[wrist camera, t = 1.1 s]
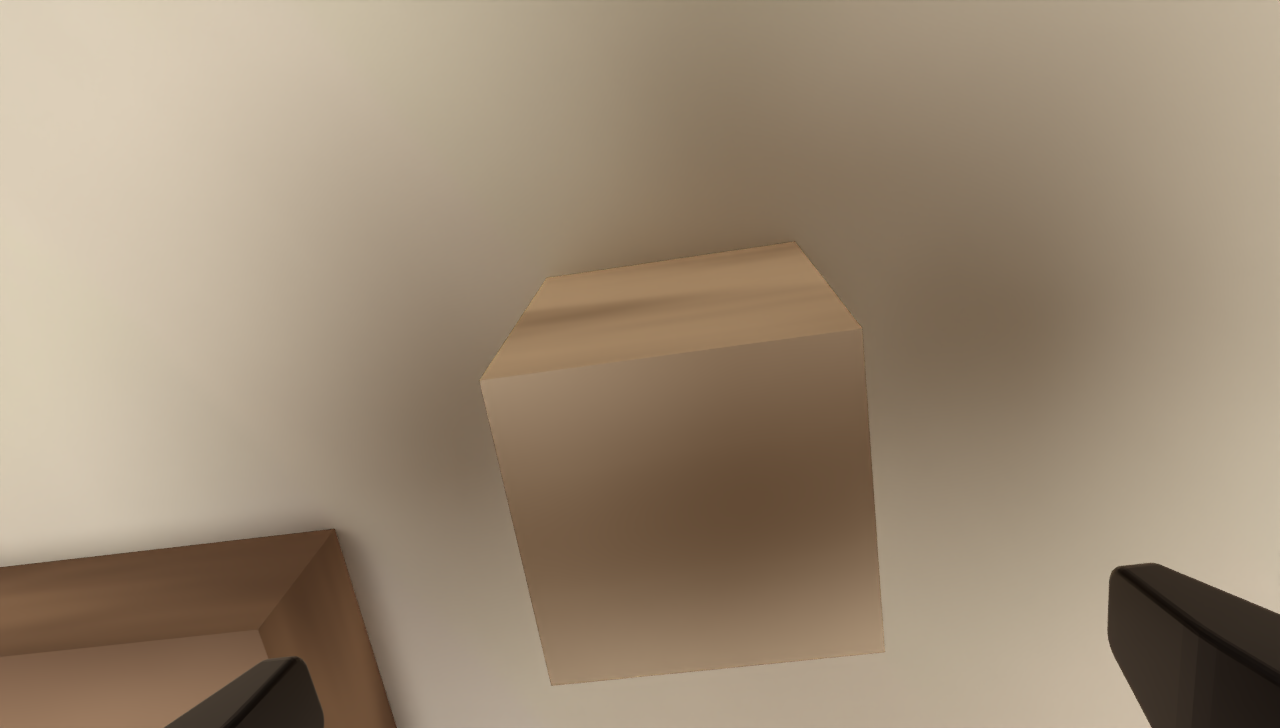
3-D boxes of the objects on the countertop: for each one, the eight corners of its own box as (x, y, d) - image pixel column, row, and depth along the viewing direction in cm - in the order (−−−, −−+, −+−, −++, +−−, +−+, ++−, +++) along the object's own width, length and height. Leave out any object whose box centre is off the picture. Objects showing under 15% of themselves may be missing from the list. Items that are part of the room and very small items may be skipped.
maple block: (816, 467, 17) (884, 652, 12) (590, 494, 18) (551, 685, 12) (794, 241, 16) (862, 328, 10) (546, 277, 16) (479, 380, 11)
